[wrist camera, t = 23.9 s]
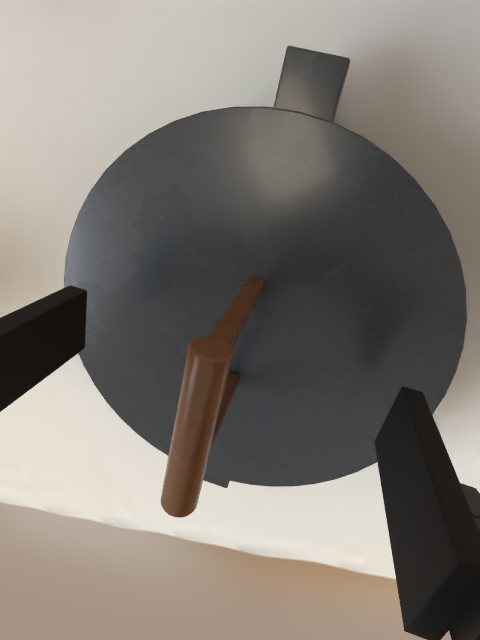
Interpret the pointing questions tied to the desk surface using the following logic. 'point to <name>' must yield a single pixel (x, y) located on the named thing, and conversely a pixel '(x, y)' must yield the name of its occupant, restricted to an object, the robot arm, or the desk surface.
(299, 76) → the pan
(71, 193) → the desk surface
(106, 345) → the pan lid
